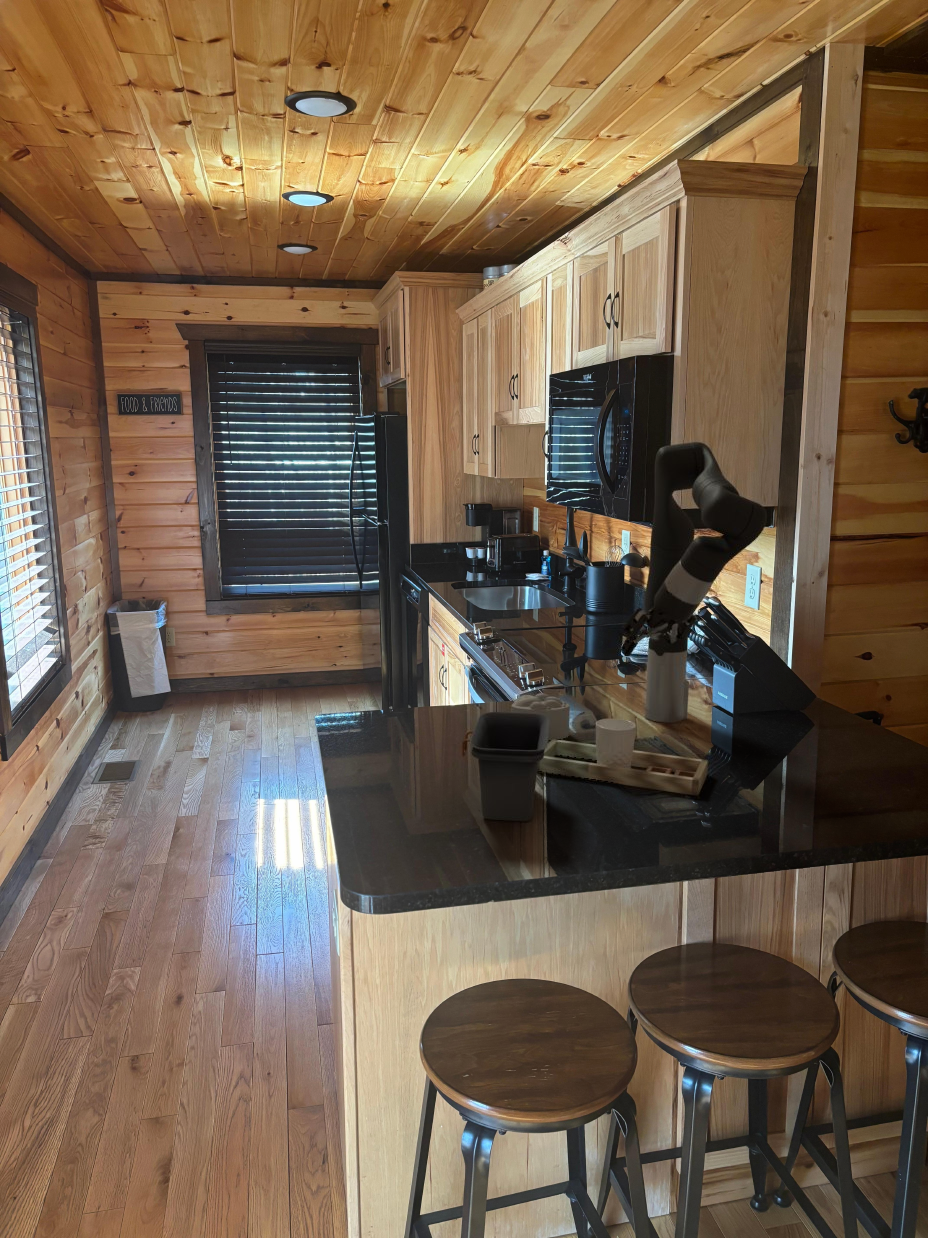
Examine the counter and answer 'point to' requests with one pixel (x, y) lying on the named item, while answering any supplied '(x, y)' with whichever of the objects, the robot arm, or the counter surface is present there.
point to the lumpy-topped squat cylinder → (546, 712)
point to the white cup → (615, 742)
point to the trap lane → (655, 777)
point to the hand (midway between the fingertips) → (640, 653)
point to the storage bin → (508, 761)
